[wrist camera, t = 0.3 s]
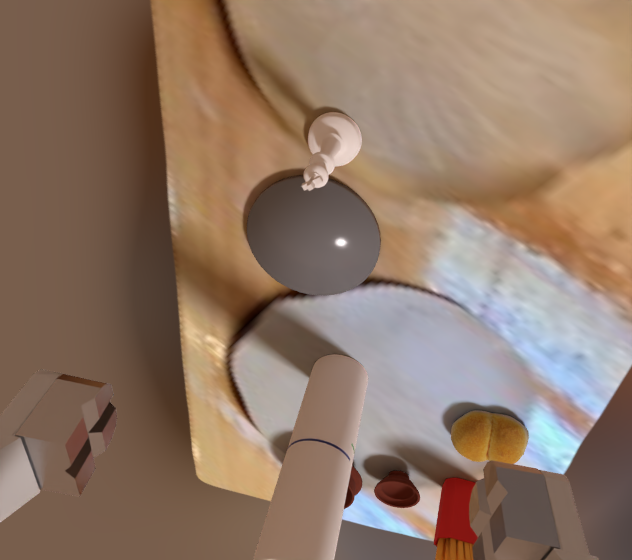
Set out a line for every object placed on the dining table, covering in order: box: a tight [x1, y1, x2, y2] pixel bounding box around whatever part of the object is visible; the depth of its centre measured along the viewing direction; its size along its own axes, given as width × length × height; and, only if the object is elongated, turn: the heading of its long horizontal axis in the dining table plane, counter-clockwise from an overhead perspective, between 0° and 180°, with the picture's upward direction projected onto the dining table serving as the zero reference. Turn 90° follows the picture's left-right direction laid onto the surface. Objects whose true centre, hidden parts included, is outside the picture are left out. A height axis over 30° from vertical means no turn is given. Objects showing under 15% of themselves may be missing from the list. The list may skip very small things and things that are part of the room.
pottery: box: [344, 466, 420, 509], centre depth 75 cm, size 12×20×4 cm, turn 95°
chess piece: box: [302, 112, 362, 191], centre depth 43 cm, size 5×5×10 cm
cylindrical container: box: [253, 354, 368, 560], centre depth 56 cm, size 7×7×25 cm
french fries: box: [434, 478, 478, 560], centre depth 69 cm, size 8×4×12 cm, turn 82°
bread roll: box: [451, 410, 529, 464], centre depth 64 cm, size 8×9×4 cm
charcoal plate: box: [247, 175, 381, 295], centre depth 54 cm, size 14×14×1 cm
